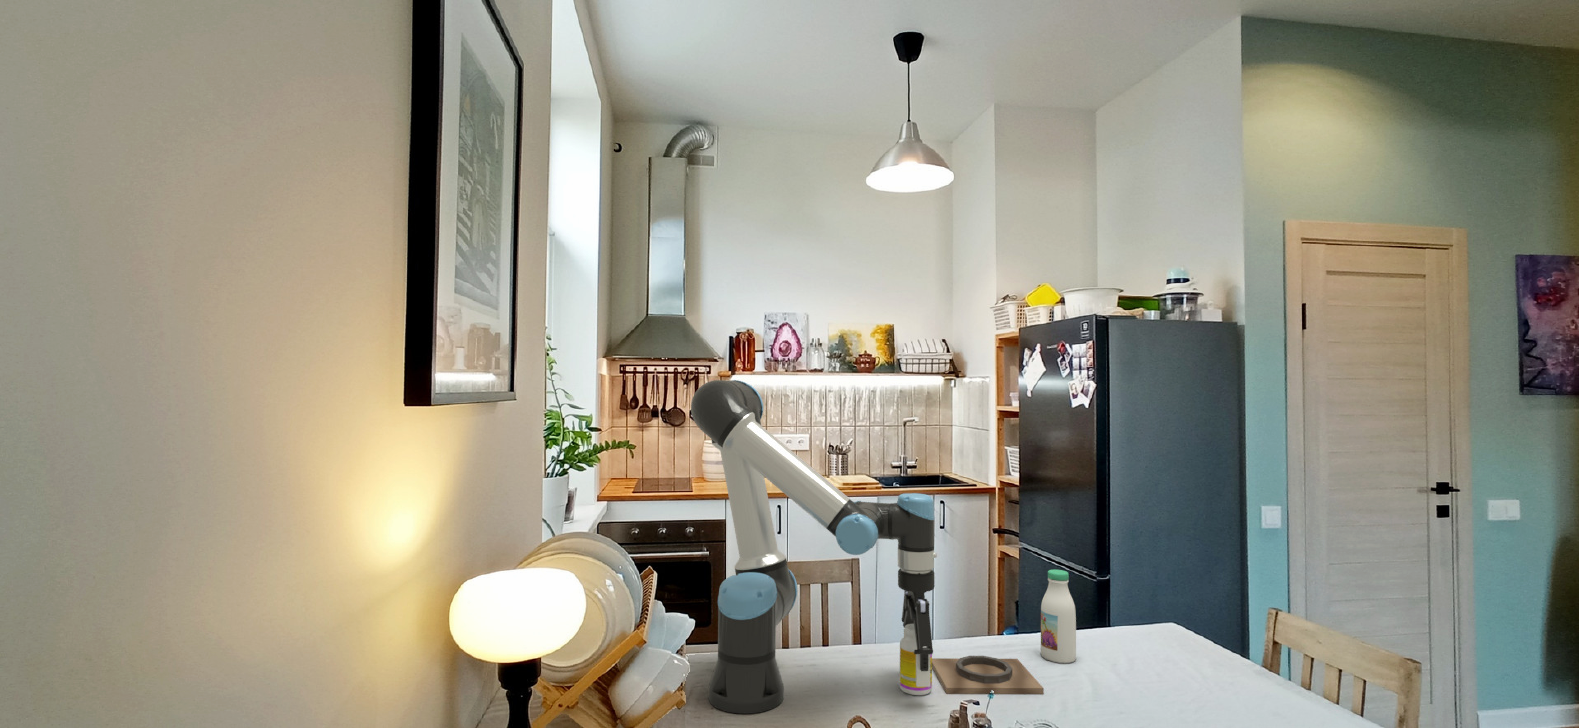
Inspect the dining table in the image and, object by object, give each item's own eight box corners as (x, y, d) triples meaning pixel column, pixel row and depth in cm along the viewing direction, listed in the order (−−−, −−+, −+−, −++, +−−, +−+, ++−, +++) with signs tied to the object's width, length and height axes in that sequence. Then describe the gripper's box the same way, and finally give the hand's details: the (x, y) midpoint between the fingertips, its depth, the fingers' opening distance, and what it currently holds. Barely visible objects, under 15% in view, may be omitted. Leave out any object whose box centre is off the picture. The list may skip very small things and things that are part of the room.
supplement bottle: (931, 698, 145) (932, 633, 145) (898, 694, 146) (899, 631, 146) (932, 684, 151) (932, 623, 152) (900, 681, 152) (900, 620, 153)
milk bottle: (1070, 652, 171) (1070, 567, 171) (1080, 664, 163) (1080, 576, 164) (1037, 651, 171) (1037, 566, 172) (1045, 663, 164) (1045, 575, 164)
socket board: (946, 693, 147) (946, 680, 147) (929, 663, 163) (929, 651, 163) (1043, 694, 147) (1043, 680, 147) (1017, 664, 163) (1017, 652, 163)
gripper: (948, 585, 137) (948, 698, 136) (921, 555, 162) (922, 650, 161) (909, 585, 137) (909, 698, 136) (888, 555, 162) (888, 650, 161)
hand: (916, 672), depth 149 cm, fingers open, 13 cm apart
